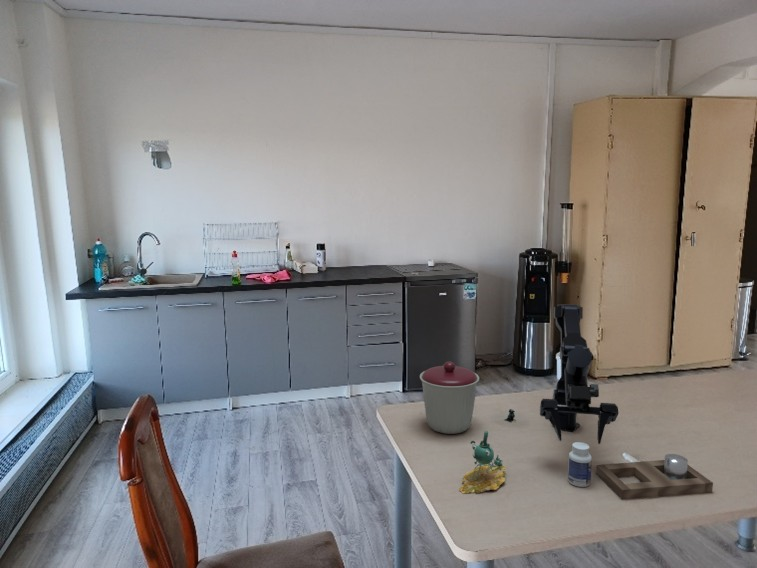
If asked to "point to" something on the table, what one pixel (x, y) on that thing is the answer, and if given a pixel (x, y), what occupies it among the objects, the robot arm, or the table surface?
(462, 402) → the canister
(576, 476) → the pill bottle
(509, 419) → the sculpture
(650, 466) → the brown holder board
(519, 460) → the table surface
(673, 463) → the steel peg
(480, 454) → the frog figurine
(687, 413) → the table surface
